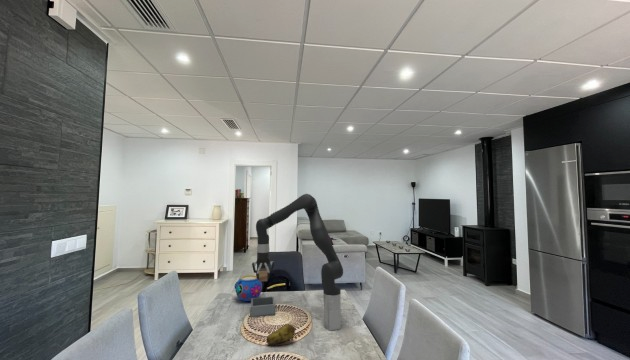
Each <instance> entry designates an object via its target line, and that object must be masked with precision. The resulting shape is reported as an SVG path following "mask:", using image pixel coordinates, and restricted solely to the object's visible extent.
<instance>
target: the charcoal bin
mask: <svg viewBox="0 0 630 360" xmlns="http://www.w3.org/2000/svg"><path fill="white" fill-rule="evenodd" d="M260 316H263V317H272V316H276V301H275V296H264V297H262V296H261V297H258V298H251V301H250V318H251V317H253V318H260Z"/></svg>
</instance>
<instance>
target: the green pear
mask: <svg viewBox="0 0 630 360" xmlns="http://www.w3.org/2000/svg"><path fill="white" fill-rule="evenodd" d="M295 333H296V327H295V326H294V325H292V324H289V323H288V324H284V325H282V326H280V327H279V328H278V329H277V330H276V331H273V332H271V333H269V335H267V337H266V343H267V344H269V345H274V344H282V343H284V342H286V341H288V340H291V339H294V337H295Z"/></svg>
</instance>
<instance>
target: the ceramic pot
mask: <svg viewBox="0 0 630 360" xmlns="http://www.w3.org/2000/svg"><path fill="white" fill-rule="evenodd" d="M234 289H235V293H236V296H237V298H238V299H239V300H241V301H243V302H251V298H260V295H261V293H262V290H263V282H259V280H258V279H257V275H254V274H253V275H251V274H250V275H244V276H241V277H240V278H239V279H238V281H237V282H235V283H234Z"/></svg>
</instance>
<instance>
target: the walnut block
mask: <svg viewBox="0 0 630 360" xmlns="http://www.w3.org/2000/svg"><path fill="white" fill-rule="evenodd" d="M259 282H261V283H263V282H268V279H267V269H266V268H260V271H259Z"/></svg>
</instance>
